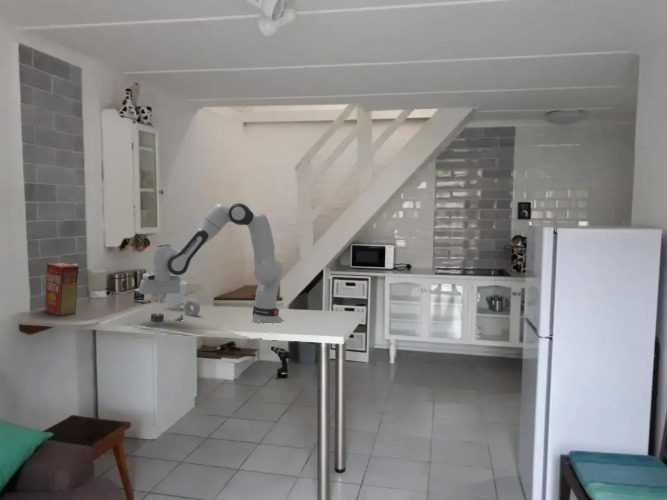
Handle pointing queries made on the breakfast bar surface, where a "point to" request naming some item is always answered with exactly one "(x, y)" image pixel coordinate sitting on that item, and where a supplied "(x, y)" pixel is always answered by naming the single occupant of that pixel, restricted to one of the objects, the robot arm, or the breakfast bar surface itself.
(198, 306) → the donut
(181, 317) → the stand
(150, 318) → the hub
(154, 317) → the ring
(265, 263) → the robot arm
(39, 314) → the breakfast bar surface
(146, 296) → the medicine bottle
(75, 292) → the food packaging
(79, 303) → the breakfast bar surface
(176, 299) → the cup
